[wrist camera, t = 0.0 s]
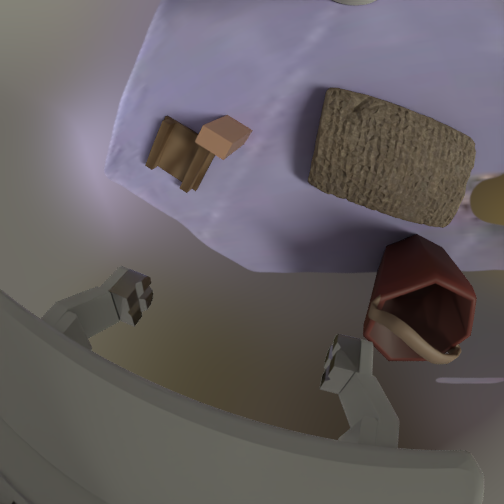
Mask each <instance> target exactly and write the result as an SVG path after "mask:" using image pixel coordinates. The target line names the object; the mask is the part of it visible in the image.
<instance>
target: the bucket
mask: <svg viewBox="0 0 504 504" xmlns="http://www.w3.org/2000/svg"><path fill="white" fill-rule="evenodd" d="M476 299H477V298H476V295H475V293H474V290H473V287H472V285H470V283H469V281H468V280H467V279H466V277H465V276H464V275H463V273H462V272H461V271H460V269H459V268H458V267H457V265H456V264H455V263H454V262H453V260H452V259H451V258H450V256H449V255H448V254H447V253H446V251H445V250H444V249H443V248H442V247H440V246H438V245H437V244H435V243H433V242H431V241H429V240H427V239H425V238H423V237H421V236H420V235H418V234H416V235H413V236H411V237H408V238H406V239H403V240H401V241H398V242H396V243H393V244H391V245H388V246H386V249H385V252H384V255H383V258H382V260H381V263H380V266H379V269H378V271H377V275H376V279H375V283H374V288H373V292H372V296H371V299H370V303H369V307H368V310H367V314H366V318H365V321H364V328H363V336H364V337H365V338H366V339H367V340H368V341H370V342H372V343H373V346H374V347H375V348H376V349H377V350H378V351H379V352H380V353H381V354H382V355H383V356H384V357H385V358H386V359H387V360H388V361H429V362H431V363H433V364H448V363H449V362H451V361H453V360H454V359H455V358H457V357H458V356H459V354H460V353H461V348H460V346H459V345H458V344H459V343H461V342H462V341H464V340H465V339H466V338H468V337H469V336H471V331H472V325H473V319H474V312H475V305H476ZM446 352H448V353H449V354H445V353H446Z"/></svg>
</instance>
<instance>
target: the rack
mask: <svg viewBox="0 0 504 504" xmlns="http://www.w3.org/2000/svg"><path fill="white" fill-rule="evenodd" d="M197 136H198V134H197V133H196V132H194V131H192V130H191V129H189V128H187V127H186V126H184V125H182V124H181V123H179V122H177V121H176V120H174V119H172V118H171V117H169V116H165V119H164V120H163V121H162V124H161V126H160V128H159V131H158V133H157V136H156V138H155V141H154V144H153V146H152V149H151V151H150V154H149V157H148V160H147V162H146V165H145V166H147V167H148V168H150V169H151V170H152V169H154V168H156V167H157V166H159V167H160V168H162V169H163V170H165V171H166V172H168V173H169V174H171V175H172V176H174V177H175V178H177V179H178V180H180V181H181V182H182V184H181V186H180V189H182V190H183V191H185V192H186V193H187V192H189V191H190V190H191V189H193V190H195V191H196V190H197V189H198V187H199V185H200V183H201V181H202V179H203V177H204V175H205V173H206V171H207V170H208V168H209V166H210V164H211V162H212V160H213V158H214V156H215V154H213V153H212V152H210V151H208V150H207V149H205V148H204V147H202V146H200V145H199V144H197V143H196V142H195V141H196V138H197Z"/></svg>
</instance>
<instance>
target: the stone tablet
mask: <svg viewBox="0 0 504 504" xmlns="http://www.w3.org/2000/svg"><path fill="white" fill-rule="evenodd" d="M475 154H476V151H475V143H474V141H473V140H472V139H471V138H470V137H469V136H467V135H465V134H463V133H462V132H459V131H457V130H455V129H453V128H452V127H450V126H448V125H445V124H443V123H441V122H438V121H436V120H435V119H433V118H430V117H426V116H425V115H421V114H418V113H416V112H414V111H411V110H409V109H406V108H404V107H401V106H399V105H396V104H393V103H390V102H388V101H385V100H381V99H378V98H375V97H372V96H369V95H365V94H361V93H356V92H352V91H349V90H344V89H340V88H329V89H328V90H327V91H326V95H325V99H324V104H323V108H322V113H321V117H320V124H319V129H318V133H317V137H316V144H315V150H314V155H313V158H312V162H311V169H310V173H309V177H308V182H309V184H311V185H313V186H314V187H316V188H318V189H319V190H321V191H322V192H325V193H327V194H333V195H335V196H336V197H339V198H341V199H345V198H346V199H347V200H348V201H350V202H354V203H355V204H358V205H362V206H365V207H366V208H369V209H371V210H377V211H379V212H381V213H384V214H387V215H390V216H392V217H395V218H400V219H402V220H406V221H410V222H414V223H418V224H425V225H428V226H433V227H442V228H443V227H445V226H447V225H448V224H449V223H450V222H451V221H452V219H453V217H454V216H455V214H456V212H457V211H458V208H459V206H460V203H461V201H462V199H463V197H464V194H465V190H466V183H467V181H468V179H469V177H470V172H471V170H472V168H473V167H474V161H475Z"/></svg>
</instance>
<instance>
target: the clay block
mask: <svg viewBox="0 0 504 504" xmlns="http://www.w3.org/2000/svg"><path fill="white" fill-rule="evenodd" d="M251 132H252V130H251V129H249V128H248V127H246V126H245V125H243V124H241V123H240V122H238V121H237V120H235V119H233V118H232V117H230V116H228V115H226V116H224V117H221V118H219V119H216V120H214V121H212V122H210V123H207V124H205V125H203V127H202V128H201V130H200V132H199V134H198V136H197V138H196V141H195V142H196V143H197V144H199V145H200V146H202V147H204V148H205V149H207V150H208V151H210V152H212V153H213V154H215V155H216V156H218V157H219V158H221V159H222V160H224V159H225V158H227V157H228V156H229V155H231V154H232V153H233V152H234V151H236V150H237V149H238V148H240V147H241V146H242V145H244V143H245V142H246V140H247V139H248V137H249V135H250V134H251Z"/></svg>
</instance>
